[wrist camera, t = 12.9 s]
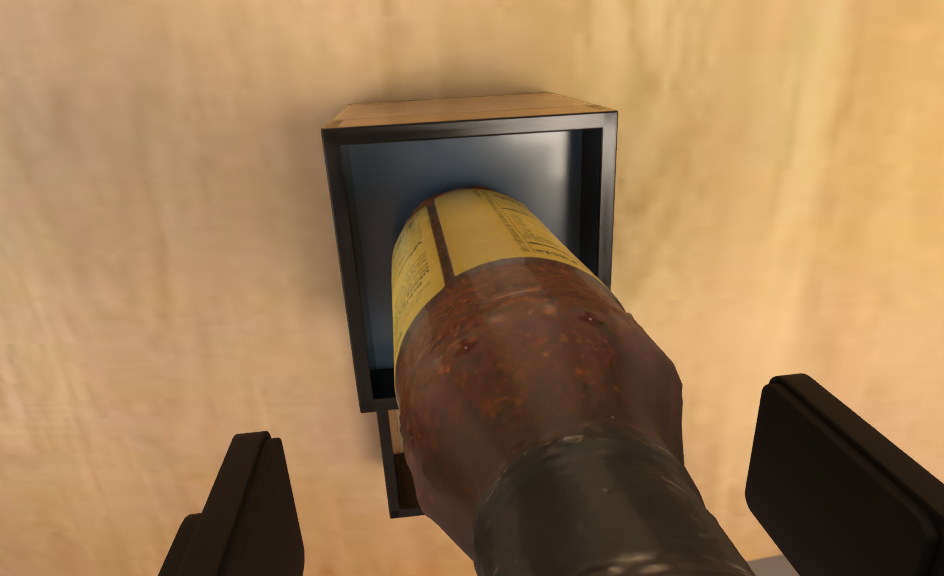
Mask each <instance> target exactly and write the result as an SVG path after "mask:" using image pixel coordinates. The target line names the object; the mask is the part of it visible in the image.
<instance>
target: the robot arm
mask: <svg viewBox="0 0 944 576" xmlns="http://www.w3.org/2000/svg"><path fill="white" fill-rule="evenodd" d="M745 498H746V502H747V505H748V507H749V509H750V511H751V512H752V513H753V515H754V516H755V517H756V519H757V520H758V521H759V523H760V524H761V525H762V527H763V528H764V529H765V531H766V532H767V533H768V534H769V536H770V537H771V538H772V540H773V541H774V542H775V544H776V545H777V546H778V548H779V549H780V550H781V552H782V553H783V554H784V556H785V557H786V558H787V559H788V561H789V562H790V563H791V565H792V566H793V567H794V569H795V570H796V571H797V573H798V574H799V575H800V576H944V484H943V483H942V482H941V481H939V480H938V479H937V478H936V477H934V476H933V475H932V474H931V473H929V472H928V471H927V470H926V469H924V468H923V467H922V466H921V465H919V464H918V463H917V462H916V461H914V460H913V459H912V458H911V457H909V456H908V455H907V454H906V453H904V452H903V451H902V450H901V449H899V448H898V447H897V446H896V445H894V444H893V443H892V442H891V441H889V440H888V439H887V438H886V437H885V436H883V435H882V434H881V433H880V432H878V431H877V430H876V429H875V428H873V427H872V426H871V425H870V424H868V423H867V422H866V421H865V420H863V419H862V418H861V417H860V416H858V415H857V414H856V413H855V412H853V411H852V410H851V409H850V408H848V407H847V406H846V405H845V404H843V403H842V402H841V401H840V400H838V399H837V398H836V397H835V396H833V395H832V394H831V393H830V392H828V391H827V390H826V389H825V388H823V387H822V386H821V385H820V384H818V383H817V382H816V381H815V380H813V379H812V378H811V377H810V376H808V375H806V374H791V375H782V376H775V377H773V378H772V379H771V380H770V382H769V384H768V385H765V386H764V387H763V389H762V393H761V399H760V405H759V411H758V417H757V423H756V429H755V435H754V441H753V447H752V453H751V459H750V465H749V470H748V476H747V482H746V488H745ZM303 570H304V546H303V541H302V536H301V531H300V527H299V522H298V517H297V512H296V507H295V503H294V498H293V493H292V488H291V484H290V479H289V474H288V469H287V464H286V460H285V455H284V450H283V445H282V441H281V439H280V438H272V439H271V436H270V434H269V432H268V431H262V432H253V433H244V434H236V435H235V436H234V437H233V439H232V441H231V444H230V446H229V449H228V451H227V453H226V456H225V458H224V461H223V463H222V466H221V468H220V470H219V473H218V475H217V478H216V480H215V482H214V485H213V487H212V490H211V492H210V494H209V497H208V499H207V502H206V504H205V506H204V509H203V511H202V513H198V514H190V515H188V516H187V517H186V518H185V519H184V520H183V522H182V524H181V525H180V528H179V530H178V532H177V534H176V537H175V539H174V541H173V543H172V545H171V548H170V550H169V552H168V554H167V557H166V559H165V561H164V563H163V566H162V568H161V570H160V572H159V574H158V576H303Z"/></svg>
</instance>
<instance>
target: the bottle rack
mask: <svg viewBox="0 0 944 576" xmlns="http://www.w3.org/2000/svg"><path fill="white" fill-rule="evenodd" d="M617 127H618V111H616V110H613V109H609V108H605V107H601V106H598V105H595V104H591V103H587V102H583V101H580V100H576V99H572V98H568V97H565V96H561V95H557V94H553V93H532V94H515V95H498V96H481V97H463V98H446V99H429V100H412V101H394V102H377V103H360V104H349V105H348V106H347V107H346V108H345V109H343V110H342V111H341V112H340V113H339V114H338V115H337V116H335V117H334V118H333V119H332V120H331V121H330V122H329V123H327V124H326V125H325V126H324V127H323V128H322V129H321V135H322V142H323V149H324V157H325V164H326V171H327V178H328V185H329V192H330V199H331V207H332V214H333V221H334V228H335V235H336V242H337V249H338V257H339V264H340V271H341V278H342V285H343V292H344V299H345V307H346V314H347V321H348V328H349V335H350V342H351V349H352V357H353V364H354V371H355V378H356V385H357V392H358V399H359V407H360V412H361V413H368V412H377V420H378V427H379V435H380V443H381V451H382V459H383V467H384V474H385V482H386V490H387V498H388V506H389V514H390V518H391V519H392V518H401V517H410V516H419V515H425V514H424V513H423V512H422V510H421V507H420V505H419V503H418V500H417V497H416V489H415V485H414V479H413V476H412V473H411V470H410V468H409V466H408V464H407V462H406V458H405V454H404V453H402V454H401V452H400V443H399V434H398V426H397V417H396V409H399V406H398V403H397V398H396V393H395V382H394V340H393V308H392V255H393V250H394V246H395V244H396V242H397V240H398V237H399V235H400V233H401V231H402V229H403V227H404V225H405V222H406V221H407V220H408V218H409V217H410V215H411V213H412V212H413V211H414V210H415V209H416V208H417V207H418V206H419V205H420V204H421V203H422V202H423V201H424V200H426V199H428V198H430V197H432V196H435V195H439V194H440V193H443V192H447V191H450V190H453V189H458V188H461V187H477V186H483V187H486V188H489V189H492V190H494V191H496V192H498V193H501V194H504V195H507V196H509V197H511V198H513V199H515V200H517V201H519V202H520V203H522V204H524V205H525V206H526V207H527V208H528V209H529V210H530V211H531V212H532V213H533V214H534V215H535V216H536V217H537V218H538V219H539V220H540V221H541V222H542V223H543V224H544V225H545V226H546V227H547V228H548V229H549V230H550V232H551V233H552V234H553V235H554V236H555V237H556V238H557V239H558V240H559V241H560V242H561V243H562V244H563V245H564V246H565V247H566V248H567V249H568V250H569V251H570V252H571V253H572V254H573V255H574V256H575V257H576V258H577V259H578V260H579V261H580V262H582V263H583V264H584V265H585V266H586V267H587V268H588V269H589V270H590V271H591V272H592V273H593V274H594V275H595V276H596V277H597V278H598V279H599V280H600V281H601V282H602V283H603V284H604V285H605V286H606V287H607V288H608V289H609V290H610V291H611V268H612V245H613V221H614V198H615V174H616V151H617Z"/></svg>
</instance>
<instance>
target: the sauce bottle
mask: <svg viewBox="0 0 944 576" xmlns="http://www.w3.org/2000/svg"><path fill="white" fill-rule="evenodd" d="M392 308H393V340H394V382H395V393H396V398H397V403H398V406H399V410H400V418H399V419H400V424H401V427H400V432H401V435H402V437H403V445H404V454H405V458H406V462H407V464H408V466H409V468H410V470H411V473H412V476H413V479H414V485H415V489H416V497H417V500H418V503H419V505H420V507H421V510H422V512H423V513H424V514H425V515H426V516H427V517H429V518H430V519H432V520H433V521H434V522H435V523H436V524H438V525H439V526H440V527H441V529H442V530H443V531H444V532H445V533H446V534H447V535H448V536H449V537H450V538H451V539H452V540H453V541H454V542H455V543H456V544H457V545H458V546H459V547H460V548H461V549H462V550H463V551H464V552H465V553H466V554H467V555H468V556H469V557H470V558H471V559H472V560H473V561H474V567H475V570H476V573H477V575H478V576H755V574H754V573H753V571H752V570H751V568H750V567H749V565H748V563H747V562H746V561H745V560H744V558H743V557H742V556H741V554H740V553H739V552H738V550H737V549H736V547H735V546H734V545H733V543H732V542H731V540H730V539H729V538H728V536H727V535H726V533H725V532H724V531H723V529H722V528H721V527H720V525H719V523H718V522H717V520H716V518H715V517H714V516H713V515H712V514H711V513H710V512H709V511H708V510H707V509H706V508H705V505H704V502H703V500H702V497H701V495H700V492H699V490H698V489H697V487H696V485H695V484H694V482H693V480H692V478H691V477H690V475H689V473H688V471H687V470H686V468H685V466H684V454H683V441H682V406H683V400H682V383H681V380H680V378H679V375H678V373H677V371H676V368H675V366H674V364H673V362H672V361H671V360H670V359H669V358H668V357H667V356H666V354H665V353H664V352H663V351H662V350H661V349H660V348H659V347H658V346H657V345H656V343H655V342H654V341H653V340H652V339H651V338H650V337H649V336H648V335H647V334H646V332H645V331H644V330H643V328H642V327H641V326H640V325H639V324H638V323H637V322H636V321H635V320H634V318H633V316H632V315H631V314H630V313H627V312H626V311H625V310H624V308H623V306H622V305H621V304H620V302H619V301H618V299H617V298H616V297H615V296H614V294H613V293H612V292H611V291H610V290H609V289H608V288H607V287H606V286H605V285H604V284H603V283H602V282H601V281H600V280H599V279H598V278H597V277H596V276H595V275H594V274H593V273H592V272H591V271H590V270H589V269H588V268H587V267H586V266H585V265H584V264H583V263H582V262H580V261H579V260H578V259H577V258H576V257H575V256H574V255H573V254H572V253H571V252H570V251H569V250H568V249H567V248H566V247H565V246H564V245H563V244H562V243H561V242H560V241H559V240H558V239H557V238H556V237H555V236H554V235H553V234H552V233H551V232H550V230H549V229H548V228H547V227H546V226H545V225H544V224H543V223H542V222H541V221H540V220H539V219H538V218H537V217H536V216H535V215H534V214H533V213H532V212H531V211H530V210H529V209H528V208H527V207H526V206H525V205H524V204H522V203H520V202H519V201H517V200H515V199H513V198H511V197H509V196H507V195H504V194H501V193H498V192H496V191H494V190H492V189H489V188H486V187H483V186H477V187H461V188H458V189H453V190H450V191H447V192H443V193H440V194H439V195H435V196H432V197H430V198H428V199H426V200H424V201H423V202H422V203H421V204H420V205H419V206H418V207H417V208H416V209H415V210H414V211H413V212H412V213H411V215H410V217H409V218H408V220H407V221H406V222H405V225H404V227H403V229H402V231H401V233H400V235H399V237H398V240H397V242H396V244H395V246H394V250H393V255H392Z"/></svg>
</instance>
